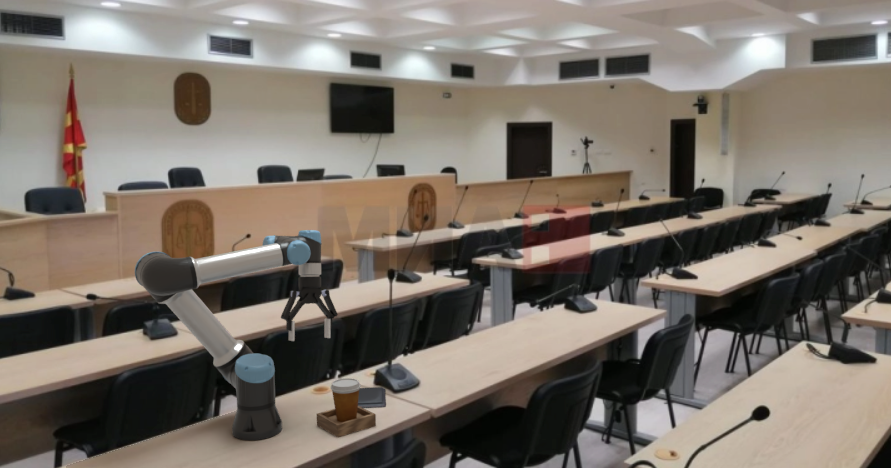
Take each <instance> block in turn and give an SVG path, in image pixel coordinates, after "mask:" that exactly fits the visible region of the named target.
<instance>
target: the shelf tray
mask: <svg viewBox="0 0 891 468" xmlns="http://www.w3.org/2000/svg"><path fill="white" fill-rule="evenodd" d="M376 418H377V415H376V413H374V412H372V411H369V410H368V409H367V408H362V407H360V406H358V408H357V418H356V419H352V420H349V421H345V422H339V421H337V417H336V411H335V408H332V409H329V410H326V411H325V410H324V411H321V412H319V413H316V426H318V427H319V428H321V429H323V430H325V431H326V432H329V434H332V435H333V436H336V437H337V438H339V437H340V438H341V437H344V436H346V435H349V434H353V433H356V432H359V431H362V430H367V429H369V428H372V427H376V425H377V423H376V422H377V421H376V420H377V419H376Z"/></svg>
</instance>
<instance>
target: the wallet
mask: <svg viewBox="0 0 891 468" xmlns="http://www.w3.org/2000/svg"><path fill="white" fill-rule="evenodd" d="M386 391H387V389H386V388H385V387H382V386H377V387H375V386H374V387H360V389H359V397H358V406H360V407H362V408H364V409H374V408H375V409H379V408H386V407H387V399H386V396H387V395H386V394H387V393H386Z"/></svg>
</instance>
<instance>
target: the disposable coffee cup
mask: <svg viewBox="0 0 891 468" xmlns="http://www.w3.org/2000/svg"><path fill="white" fill-rule="evenodd" d="M360 388H362V387H361V384H360V381H359V380H358V379H357V378H351V377H349V378H348V377H347V378H346V377H345V378H338V379H335V380H333V381H332V382H331V385H330V390H331V392H332V397H333V398H332V399H333V405H334V409H335V411H336V417H337V421H339V422H345V421H349V420H352V419H356V418H357V408H358V397H359V389H360Z"/></svg>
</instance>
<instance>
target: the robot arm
mask: <svg viewBox="0 0 891 468" xmlns="http://www.w3.org/2000/svg"><path fill="white" fill-rule="evenodd" d="M290 265H294V266H298V276H299V277H298V291H296V290H290V291H289V297H288V299H287V302H286V305H285V306H284V308H283V311H282V312H281V316H280V318H281V320H284V321H286V323H285V325H286V326H285V327H286V328H285V329H286V332H287V331H288V341H291V342H295V339H296V338H295V337H296V335H295V334H296V333H295V330H296V329H295V327H296V326H295V325H296V324H295V320H293V319H295V317H296V316H297V314H298V313H299V311H300V310H301V309H302V307H303V306H304V305H305V304H306V305H309V304H315V305H317V307H318V308H319V310H320V311H321V312H322V314H323V315H324V316H325V318H324V319H323V320H324V323H323V324H324V327H323V328H324V329H323V330H324V332H323V333H324V338H325V339H326V338H327V339H331V329H332V328H333V319H335V317H338V312H337V309H336V308H335V306H334V303H333V300H332V298H331V296H330V290H329V289H323V290H321V289H322V277H321V276H320V275H322V235H321V232H320V231H319V230H315V229H310V230H309V229H305V230H299V231H298V235H295V236H294V235H293V236H292V235H266V236H264V238H263V240H262V245H259V246H254V247H249V248H244V249H239V250H235V251H230V252H224V253H219V254H214V255H213V254H212V255H210V256H204V257H198V258H194V257H192V256H186V257H171V256H170V255H169V254H167V253H165V252H162V251H150V252H148V253H145V254H144V255H142V256H140V258H139V259H138V260H137V262H136V264H135V265H134V277H135V280H136V281H137V283H138V284H139V285H140V286H141V287H143V288H144V290H145V291H146V292H147V293H148V294H149V295H150V296H151V297H152V298H153V299H154V300H155V302H156V303H158V304H161V305H166V306H167V307H168V308H169V309H170V310H171V312H173V314H174V315H175V317H177V318H178V319H179V321H180V322H181V323H182V324H183V325H184V326H185V327H186V328H187V330H189V332H190V333H191V334H192V336H194V337H195V338H196V340H197V341H198V342H199V343H200V344H201V345H202V346H203V347H204V348H205V350H207V352H208V353H209V354H210V355H211V356H212V357H213V362H212V363H213V366H214V367H215V368H216V369H217V371H218V372H219V373H220V374H221V375H222V378H224V380H225V381H227V382H228V383H229V384H231V386H232V387H233V388H235V391H236V392H235V393H236V412H235V416H234V420H233V422H232V426H231V428H232V430H231V432H232V433H231V434H232V436H233V437H234V438H236V439H238V440H243V441H259V440H264V439H267V438H272V437H274V436H276V435H278V434H279V433H281V432H282V430H283V421H282V418H281V415H280V413H279V410H278V408H277V404H276V385H275V384H276V383H275V382H276V381H275V379H276V378H275V377H276V376H275V372H276V370H275V369H276V368H275V365H274V364H275V363H274V360H273V358H272V357H271V356H269V355H267V354H262V353H254V352H253V351H252V349H251V348H250V347H249V346H248V345H247V344H246V343H245V342H244V340H242V339H235V337H234V336H233V335H232V334H231V333H230V332H229V331H228V330H227V329H226V327H225V326H224V325H223V324H222V322H221V321H220V320H219V319H218V317H216V315H214V313H213V312H212V311H211V310H210V309H209V308H208V306H207V305H206V304H205V302H203V300H202V299H201V298H200V297H199V296H198V295H197V293H196V292H195V291H194V290H196V289H198V288H199V286H200V285H201V284H208V283H211V282H215V281H221V280H226V279H229V278H233V277H239V276H243V275H248V274H253V273H257V272H261V271H266V270H270V269H271V270H272V269H275V268H279V267H285V266H290ZM321 296H322V298H323V300H324V302H325V303H324V302H323V300H322V299H321ZM297 298H299V299H298V300H297ZM296 300H297V301H296ZM294 304H295V305H294Z"/></svg>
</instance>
